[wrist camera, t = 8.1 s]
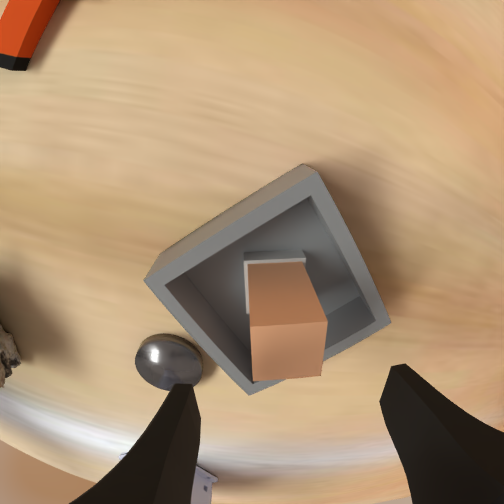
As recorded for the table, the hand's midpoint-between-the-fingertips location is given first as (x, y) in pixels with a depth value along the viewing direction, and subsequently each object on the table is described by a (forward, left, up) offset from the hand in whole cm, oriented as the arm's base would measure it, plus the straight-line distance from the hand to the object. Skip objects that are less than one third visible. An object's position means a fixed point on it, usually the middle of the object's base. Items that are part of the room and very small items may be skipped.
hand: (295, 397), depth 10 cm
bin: (0, 0, -10) cm, 10 cm away
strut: (0, 0, -9) cm, 9 cm away
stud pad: (-2, +10, -10) cm, 14 cm away
